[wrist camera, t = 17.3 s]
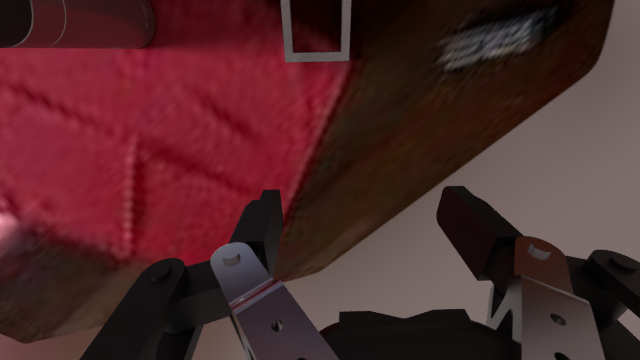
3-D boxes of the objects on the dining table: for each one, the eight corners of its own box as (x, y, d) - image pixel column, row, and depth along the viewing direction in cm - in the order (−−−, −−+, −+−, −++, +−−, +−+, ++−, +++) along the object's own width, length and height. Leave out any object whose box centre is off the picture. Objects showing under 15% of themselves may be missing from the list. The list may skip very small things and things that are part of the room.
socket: (287, 61, 37) (285, 62, 35) (280, -16, 33) (278, -20, 31) (347, 60, 37) (349, 60, 35) (350, -18, 33) (351, -22, 31)
